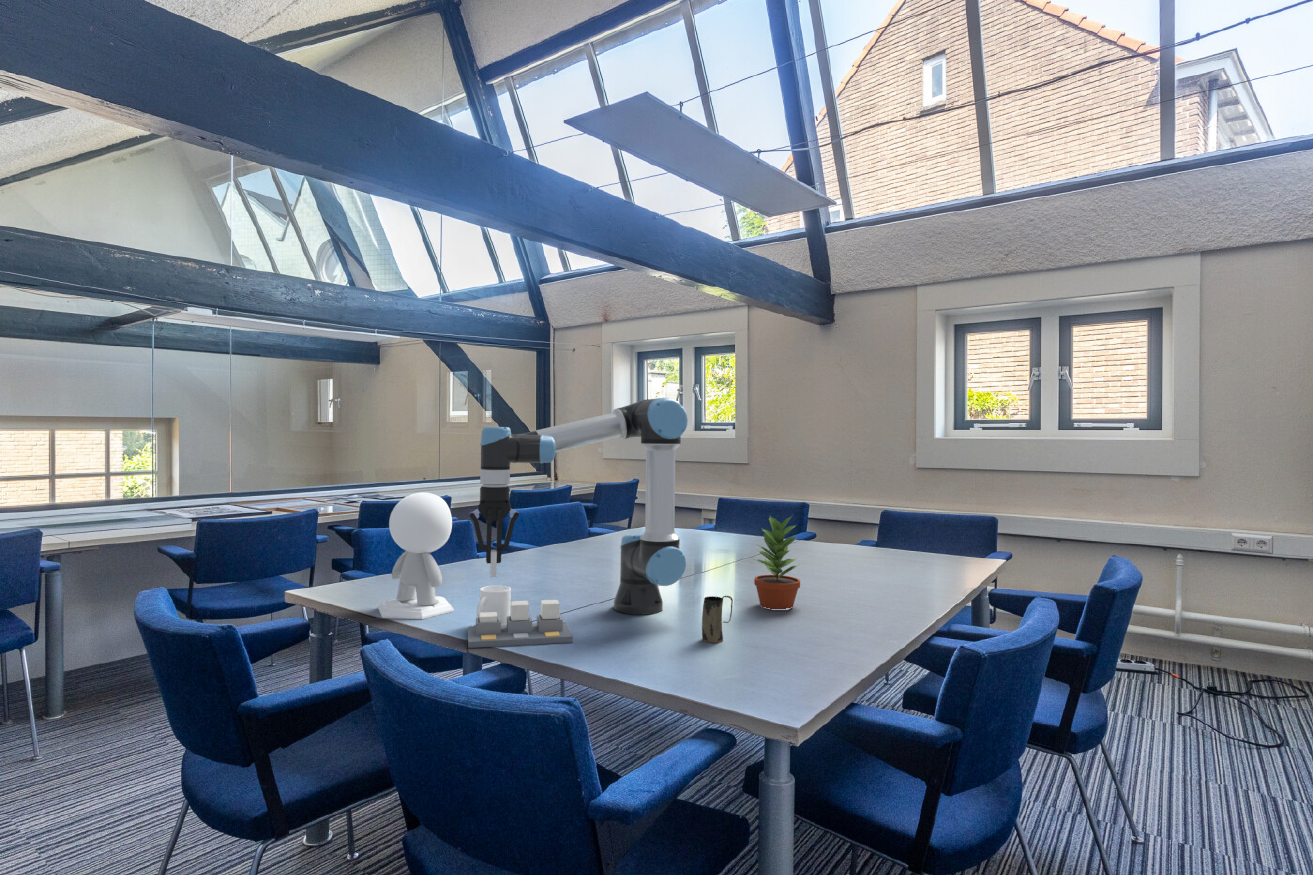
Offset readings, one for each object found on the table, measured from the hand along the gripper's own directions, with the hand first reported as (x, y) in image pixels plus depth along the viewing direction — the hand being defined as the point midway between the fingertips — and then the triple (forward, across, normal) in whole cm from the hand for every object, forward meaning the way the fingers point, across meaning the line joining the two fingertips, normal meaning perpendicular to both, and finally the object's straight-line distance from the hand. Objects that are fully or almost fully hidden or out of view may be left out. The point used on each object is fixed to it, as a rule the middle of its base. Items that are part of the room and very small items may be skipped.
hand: (493, 575), depth 181 cm
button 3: (+14, +1, 0) cm, 14 cm away
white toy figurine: (+16, +21, -32) cm, 41 cm away
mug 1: (+16, 0, -9) cm, 19 cm away
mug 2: (+17, -57, +14) cm, 61 cm away
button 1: (+12, -15, 0) cm, 19 cm away
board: (+16, -7, +2) cm, 18 cm away
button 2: (+12, -7, 0) cm, 13 cm away
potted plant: (+17, -89, -18) cm, 92 cm away
